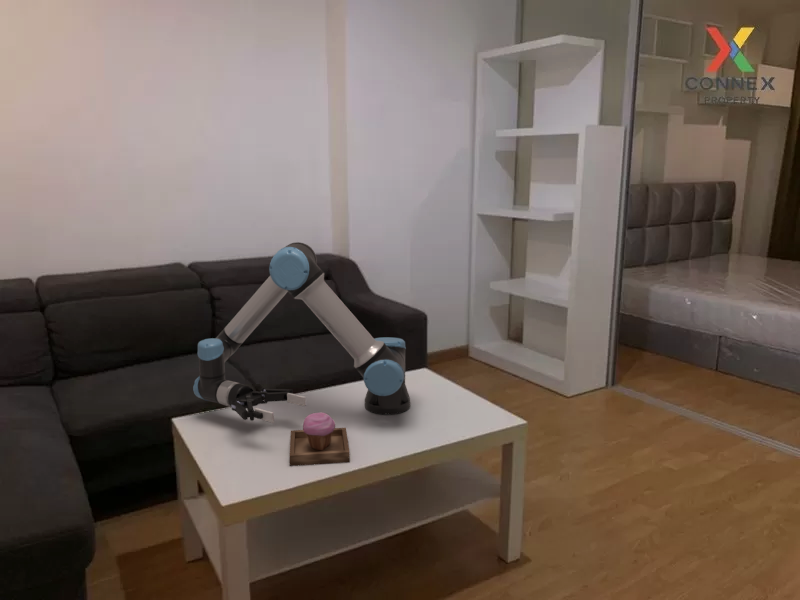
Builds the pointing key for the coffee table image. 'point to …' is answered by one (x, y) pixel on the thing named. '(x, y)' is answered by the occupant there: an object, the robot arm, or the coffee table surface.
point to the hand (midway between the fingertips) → (289, 409)
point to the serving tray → (309, 456)
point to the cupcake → (319, 430)
